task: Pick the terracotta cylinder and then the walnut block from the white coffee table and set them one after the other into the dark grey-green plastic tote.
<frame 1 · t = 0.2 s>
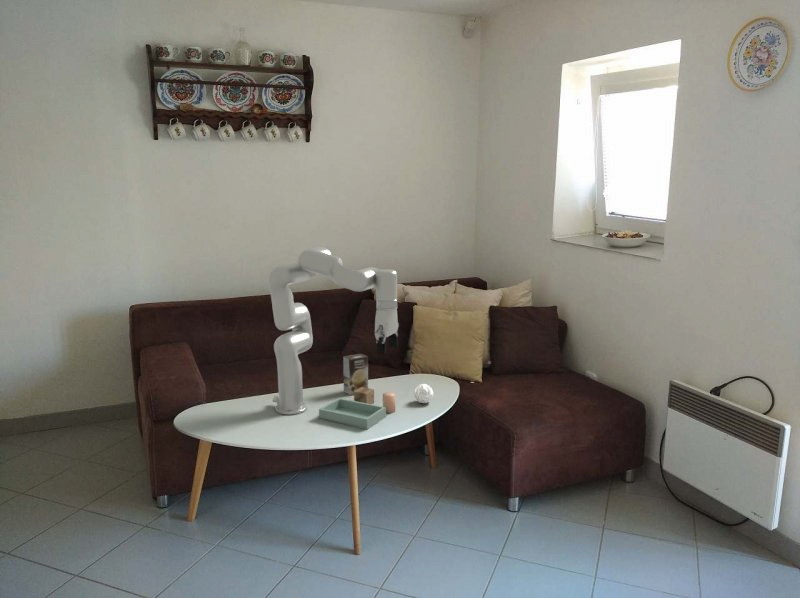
hand: (387, 350, 228), 31 cm above the table, fingers open, 9 cm apart
walnut block: (364, 404, 260), on the table
tote: (352, 417, 245), on the table
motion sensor: (423, 402, 261), on the table
terracotta cylinder: (389, 411, 252), on the table
coffee box: (356, 392, 275), on the table
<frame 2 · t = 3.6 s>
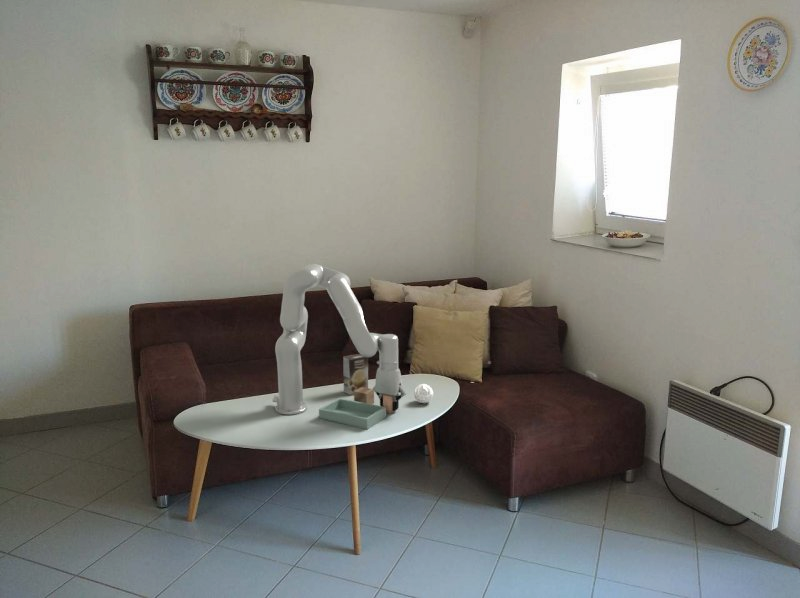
hand: (389, 408, 252), 1 cm above the table, fingers closed on terracotta cylinder, 5 cm apart
terracotta cylinder: (389, 410, 252), on the table, touching gripper
everything else where it was.
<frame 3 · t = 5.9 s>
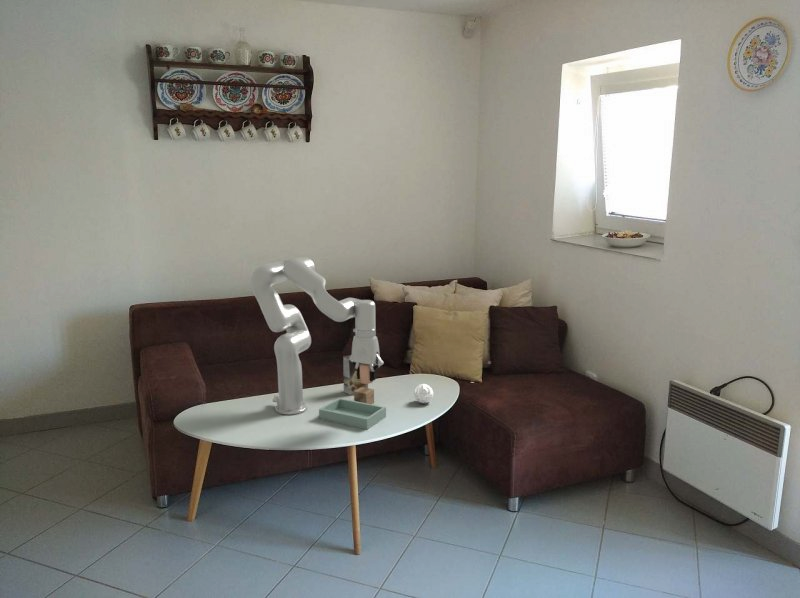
hand: (366, 378, 239), 17 cm above the table, fingers closed on terracotta cylinder, 5 cm apart
terracotta cylinder: (366, 381, 239), point 16 cm above the table, touching gripper
everything else where it was.
when the fingers open (4 cm above the table, at t = 8.6 s): terracotta cylinder drops 2 cm, point 1 cm above the table.
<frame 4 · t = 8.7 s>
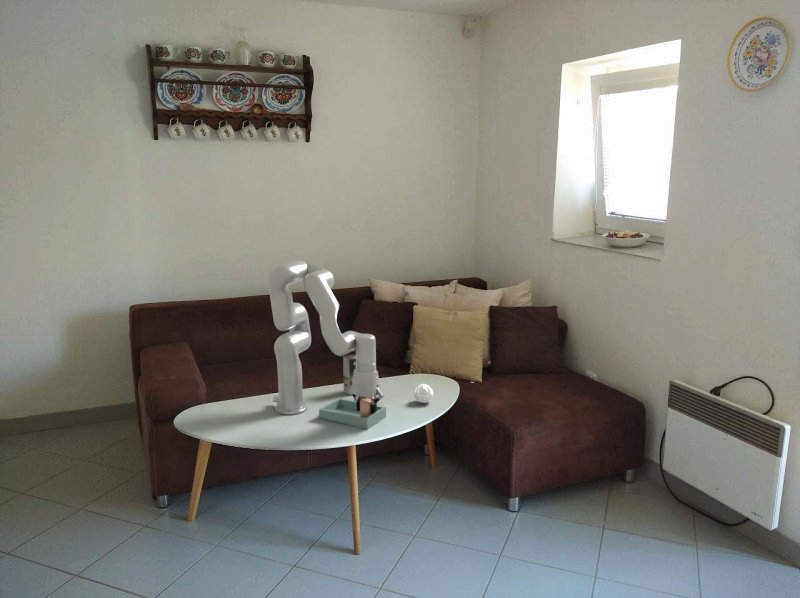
hand: (366, 411, 241), 4 cm above the table, fingers open, 5 cm apart
terracotta cylinder: (366, 418, 242), point 1 cm above the table
everything else where it was.
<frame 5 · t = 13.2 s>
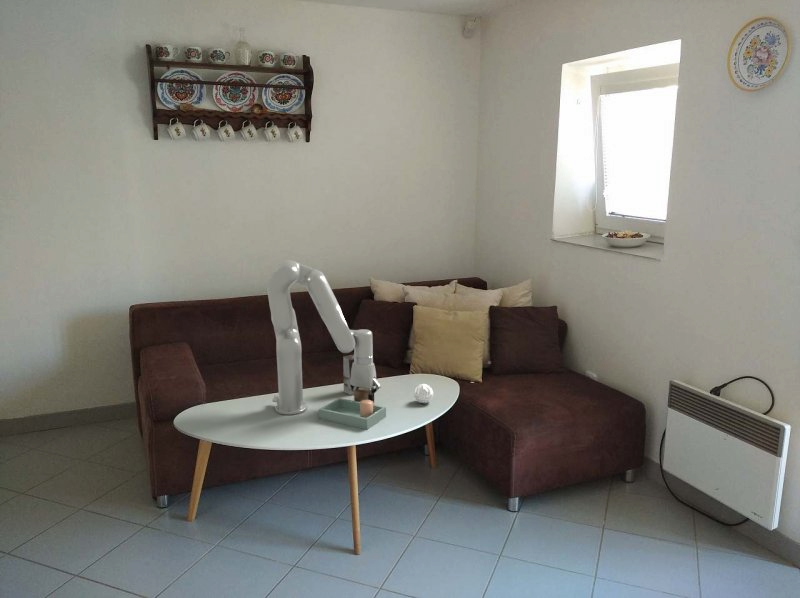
hand: (364, 401, 260), 1 cm above the table, fingers closed on walnut block, 6 cm apart
walnut block: (364, 403, 260), on the table, touching gripper
terracotta cylinder: (366, 419, 242), point 1 cm above the table, touching tote
everything else where it was.
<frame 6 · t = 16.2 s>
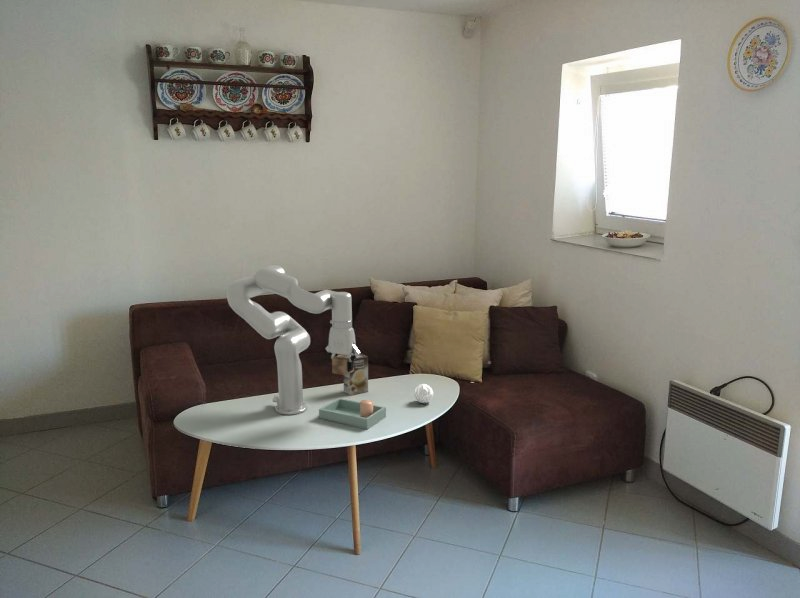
hand: (343, 369, 243), 19 cm above the table, fingers closed on walnut block, 6 cm apart
walnut block: (343, 372, 244), point 18 cm above the table, touching gripper
everything else where it was.
when the fingers open (4 cm above the table, at t = 19.4 s): walnut block drops 2 cm, resting on tote.
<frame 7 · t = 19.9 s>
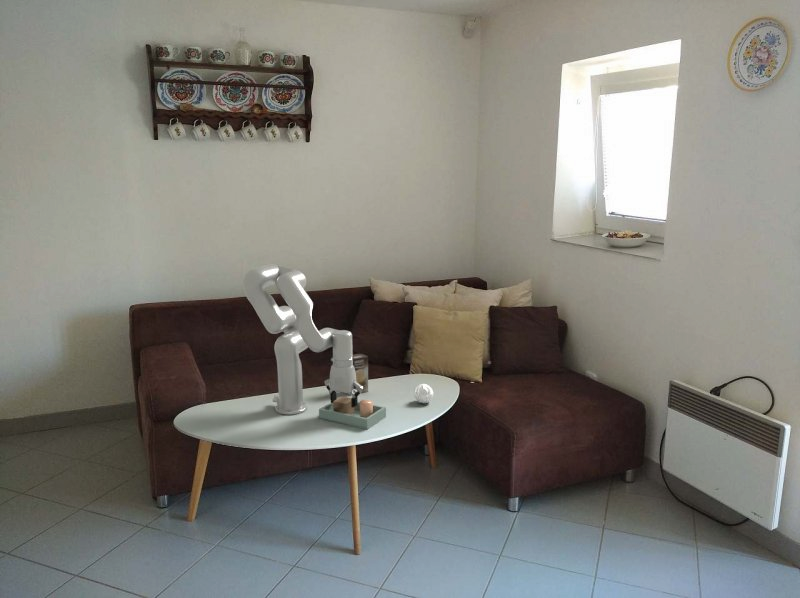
hand: (343, 404, 246), 5 cm above the table, fingers open, 9 cm apart
walnut block: (344, 414, 247), point 1 cm above the table, touching tote
everything else where it was.
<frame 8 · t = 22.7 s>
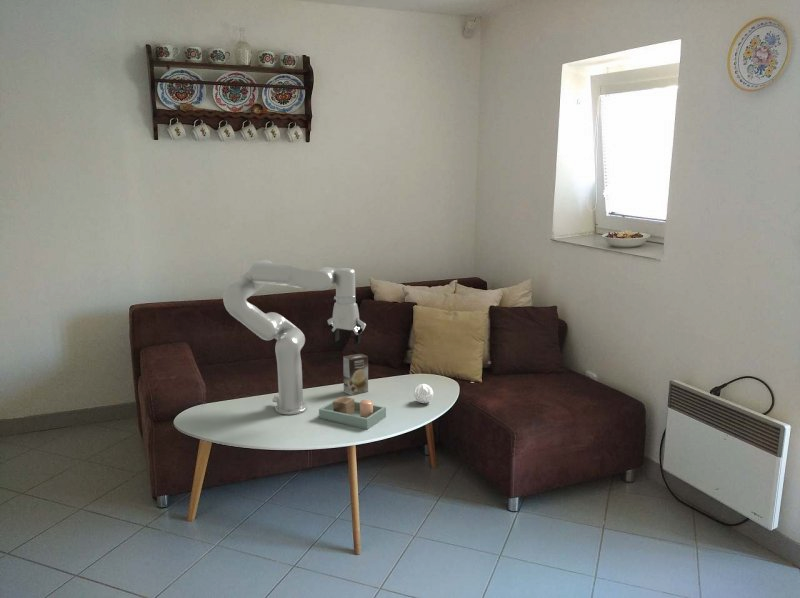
hand: (346, 342, 248), 28 cm above the table, fingers open, 9 cm apart
nothing on the table moved.
at the end: terracotta cylinder inside the target area on the tote (6.4 cm from its centre), point 0.7 cm above the tote's base; walnut block inside the target area on the tote (4.1 cm from its centre), point 0.6 cm above the tote's base; the gripper is holding nothing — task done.
